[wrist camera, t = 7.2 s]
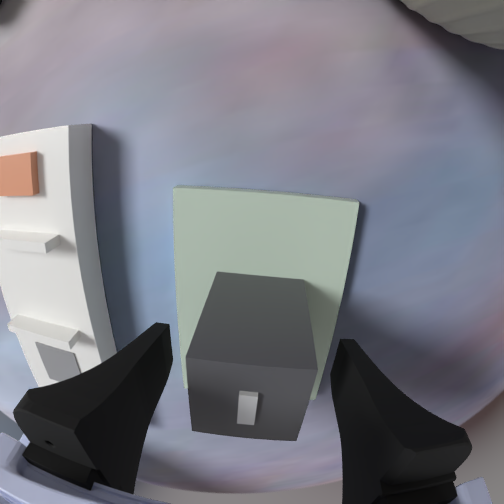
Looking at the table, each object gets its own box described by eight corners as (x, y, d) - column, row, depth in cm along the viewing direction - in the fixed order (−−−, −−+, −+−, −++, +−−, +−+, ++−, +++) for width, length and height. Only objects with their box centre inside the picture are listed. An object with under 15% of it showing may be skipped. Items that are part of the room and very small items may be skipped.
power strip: (134, 414, 20) (121, 446, 17) (60, 393, 21) (44, 419, 18) (91, 123, 13) (51, 126, 10) (2, 137, 13) (-37, 145, 10)
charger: (291, 346, 16) (296, 444, 10) (215, 339, 16) (191, 434, 10) (303, 279, 14) (318, 374, 9) (217, 271, 15) (184, 361, 9)
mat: (314, 392, 18) (315, 399, 18) (186, 381, 18) (184, 388, 18) (356, 199, 13) (359, 202, 13) (177, 185, 14) (173, 187, 13)
